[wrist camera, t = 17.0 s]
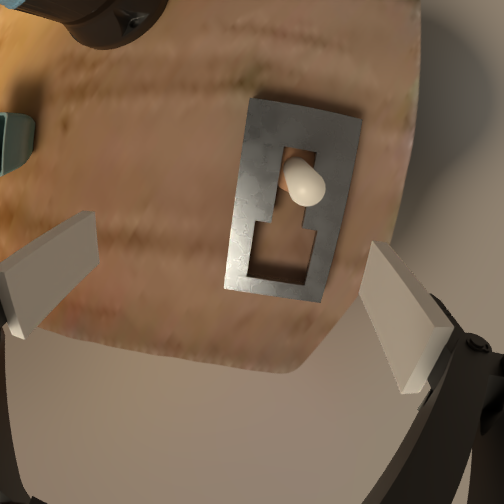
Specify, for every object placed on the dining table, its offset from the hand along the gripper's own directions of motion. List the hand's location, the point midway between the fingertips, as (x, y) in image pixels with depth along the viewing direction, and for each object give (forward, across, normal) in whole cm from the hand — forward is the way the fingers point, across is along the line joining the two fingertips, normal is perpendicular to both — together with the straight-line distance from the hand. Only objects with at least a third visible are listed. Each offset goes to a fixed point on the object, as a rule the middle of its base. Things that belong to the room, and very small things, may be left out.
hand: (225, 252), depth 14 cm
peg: (+26, +5, +1) cm, 27 cm away
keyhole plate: (+26, +5, -4) cm, 27 cm away
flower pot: (+27, -37, +4) cm, 46 cm away
